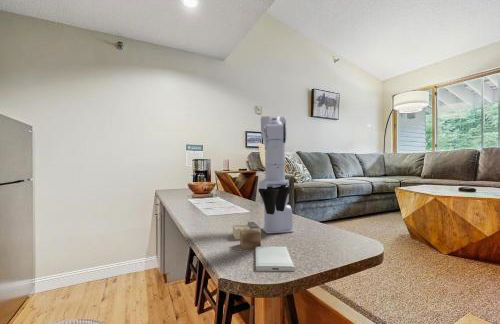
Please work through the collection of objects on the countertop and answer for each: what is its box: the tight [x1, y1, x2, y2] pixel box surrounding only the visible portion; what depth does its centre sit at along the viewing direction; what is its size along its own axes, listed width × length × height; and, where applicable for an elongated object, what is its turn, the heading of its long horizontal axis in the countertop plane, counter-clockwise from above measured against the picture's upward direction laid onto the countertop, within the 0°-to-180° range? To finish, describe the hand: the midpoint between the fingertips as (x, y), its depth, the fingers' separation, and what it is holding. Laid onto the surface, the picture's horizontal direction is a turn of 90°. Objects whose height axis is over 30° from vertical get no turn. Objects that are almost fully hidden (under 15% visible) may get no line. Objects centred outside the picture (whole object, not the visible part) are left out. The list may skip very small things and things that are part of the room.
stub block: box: [239, 230, 262, 250], centre depth 64 cm, size 5×4×4 cm
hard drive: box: [254, 246, 296, 272], centre depth 54 cm, size 2×8×12 cm
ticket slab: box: [232, 221, 262, 240], centre depth 74 cm, size 8×6×4 cm
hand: (275, 212), depth 66 cm, fingers open, 5 cm apart
